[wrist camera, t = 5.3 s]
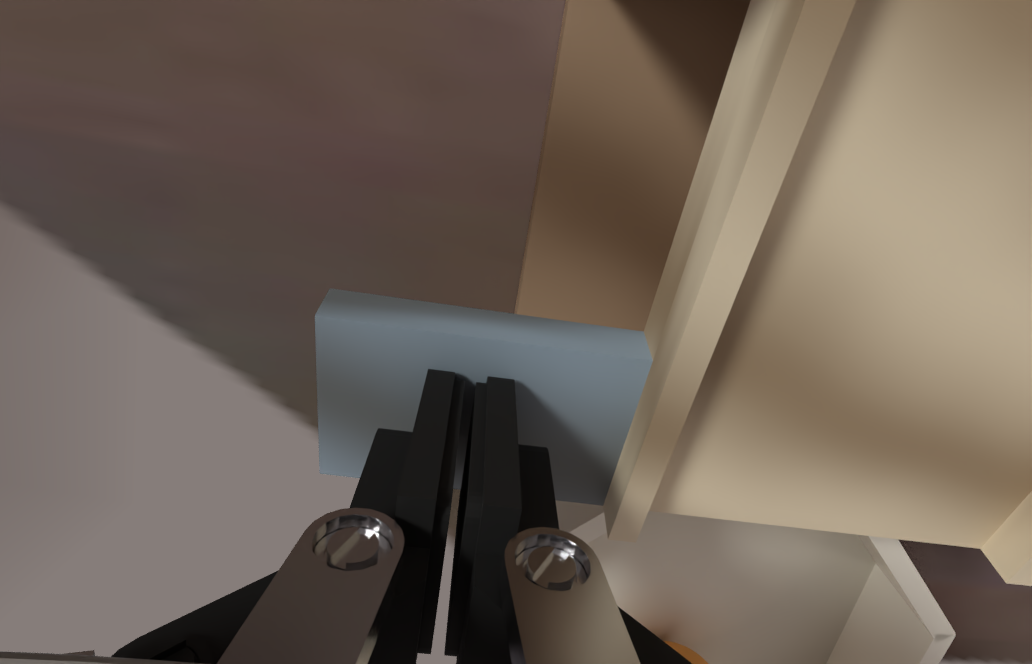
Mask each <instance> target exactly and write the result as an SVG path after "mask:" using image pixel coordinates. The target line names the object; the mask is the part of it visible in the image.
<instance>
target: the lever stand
mask: <svg viewBox="0 0 1032 664" xmlns="http://www.w3.org/2000/svg"><path fill="white" fill-rule="evenodd" d="M750 1H751V0H566V2H565V8H564V14H563V20H562V26H561V32H560V38H559V45H558V51H557V57H556V63H555V69H554V75H553V81H552V87H551V93H550V99H549V105H548V112H547V118H546V124H545V130H544V136H543V142H542V148H541V154H540V160H539V166H538V172H537V179H536V185H535V191H534V197H533V203H532V209H531V215H530V221H529V227H528V233H527V239H526V246H525V252H524V258H523V264H522V270H521V276H520V282H519V288H518V294H517V300H516V306H515V313H514V314H519V315H527V316H534V317H541V318H548V319H556V320H563V321H570V322H578V323H585V324H592V325H599V326H607V327H614V328H621V329H628V330H636V331H643V332H644V329H645V326H646V323H647V320H648V317H649V314H650V311H651V308H652V304H653V301H654V298H655V295H656V292H657V289H658V286H659V283H660V280H661V277H662V273H663V270H664V267H665V264H666V261H667V258H668V255H669V252H670V249H671V246H672V242H673V239H674V236H675V233H676V230H677V227H678V224H679V221H680V218H681V215H682V212H683V208H684V205H685V202H686V199H687V196H688V193H689V190H690V187H691V184H692V181H693V177H694V174H695V171H696V168H697V165H698V162H699V159H700V156H701V153H702V150H703V146H704V143H705V140H706V137H707V134H708V131H709V128H710V125H711V122H712V119H713V115H714V112H715V109H716V106H717V103H718V100H719V97H720V94H721V91H722V88H723V85H724V81H725V78H726V75H727V72H728V69H729V66H730V63H731V60H732V57H733V54H734V50H735V47H736V44H737V41H738V38H739V35H740V32H741V29H742V26H743V23H744V19H745V16H746V13H747V10H748V7H749V4H750Z"/></svg>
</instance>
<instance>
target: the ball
mask: <svg viewBox="0 0 1032 664" xmlns="http://www.w3.org/2000/svg"><path fill="white" fill-rule="evenodd" d="M664 642H665V643H666V644H668V645H669V646H670V647H672V648H673V649H674V650H675V651H677V652H678V653H679V654H681V655H682V656H683V657H685V658H686V659H687V660H688V661H690V662H691V663H692V664H708V663H707V662H706V661H705V660H704V659H703V658H702V657H701V656H700V655H699V654H697V653H696V652H694V651H693V650H691V649H690V648H688V647H686V646H683V645H681V644H678V643H675V642H670V641H664Z"/></svg>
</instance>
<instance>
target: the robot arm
mask: <svg viewBox="0 0 1032 664" xmlns="http://www.w3.org/2000/svg"><path fill="white" fill-rule="evenodd" d="M464 386H465V381H464V380H456V379H455V372H450V371H442V370H434V369H428V371H427V375H426V379H425V383H424V387H423V392H422V396H421V400H420V404H419V408H418V412H417V416H416V420H415V424H414V428H413V432H409V431H401V430H392V429H383V428H378V429H377V432H376V434H375V437H374V440H373V443H372V445H371V448H370V451H369V454H368V457H367V460H366V463H365V465H364V468H363V471H362V474H361V477H360V480H359V483H358V486H357V488H356V491H355V494H354V497H353V500H352V503H351V505H350V508H348V509H340V510H337V511H334V512H331V513H327V514H325V515H324V516H322V517H320V518H319V519H317V520H315V521H314V522H313V523H312V524H311V525H310V526H309V527H308V528H307V529H306V530H305V532H304V533H303V535H302V536H301V538H300V539H299V541H298V542H297V544H296V545H295V547H294V548H293V550H292V551H291V553H290V554H289V556H288V557H287V559H286V560H285V562H284V564H283V565H282V566H281V568H280V569H279V571H276V572H274V573H272V574H270V575H268V576H266V577H264V578H262V579H260V580H258V581H256V582H254V583H251V584H249V585H247V586H245V587H243V588H241V589H239V590H237V591H235V592H233V593H231V594H228V595H226V596H225V597H222V598H220V599H218V600H216V601H214V602H212V603H210V604H208V605H206V606H204V607H201V608H199V609H197V610H195V611H193V612H191V613H189V614H187V615H185V616H182V617H181V618H178V619H176V620H174V621H172V622H170V623H168V624H166V625H164V626H162V627H160V628H158V629H155V630H153V631H151V632H149V633H147V634H145V635H143V636H141V637H139V638H137V639H135V640H134V641H132V642H130V643H129V644H127V645H125V646H124V647H122V648H121V649H119V650H118V651H117V652H116V653H115V654H114V655H112V656H111V657H103V656H95V652H94V650H93V651H84V652H75V653H67V654H52V653H51V654H50V653H27V652H0V664H416V659H417V653H424V654H431V648H432V640H433V634H434V626H435V619H436V612H437V605H438V597H439V590H440V582H441V576H442V568H443V561H444V554H445V546H446V539H447V532H448V525H449V517H450V510H451V502H452V494H453V485H454V476H455V467H456V458H457V449H458V440H459V431H460V422H461V413H462V404H463V395H464ZM445 655H448V656H457V663H456V664H692V663H691V662H690V661H688V660H687V659H686V658H685V657H683V656H682V655H681V654H679V653H678V652H677V651H675V650H674V649H673V648H672V647H670V646H669V645H668V644H666V643H665V642H664V641H662V640H661V639H660V638H659V637H657V636H656V635H655V634H653V633H652V632H651V631H650V630H648V629H647V628H646V627H644V626H643V625H642V624H640V623H639V622H638V621H637V620H635V619H634V618H633V617H631V616H630V615H629V614H627V613H626V612H625V611H624V610H622V609H621V608H620V607H618V606H617V604H616V601H615V599H614V596H613V594H612V591H611V589H610V586H609V584H608V581H607V579H606V576H605V574H604V571H603V569H602V566H601V564H600V561H599V559H598V558H597V556H596V554H595V553H594V551H593V549H592V548H590V547H589V546H588V545H587V544H586V543H585V542H584V541H583V540H581V539H580V538H578V537H576V536H575V535H573V534H571V533H569V532H565V531H562V530H559V523H558V515H557V508H556V501H555V494H554V486H553V479H552V472H551V464H550V457H549V451H548V448H547V447H539V446H531V445H522V444H518V429H517V411H516V393H515V380H514V379H506V378H498V377H490V376H488V377H487V382H486V383H481V382H476V386H475V392H474V399H473V406H472V413H471V420H470V427H469V434H468V441H467V448H466V455H465V462H464V469H463V476H462V483H461V490H460V498H459V506H458V516H457V526H456V537H455V547H454V558H453V569H452V579H451V590H450V601H449V611H448V622H447V633H446V643H445Z"/></svg>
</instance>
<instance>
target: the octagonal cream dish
mask: <svg viewBox="0 0 1032 664" xmlns="http://www.w3.org/2000/svg"><path fill="white" fill-rule="evenodd" d="M555 501H556V508H557V515H558V523H559V530H562V531H565V532H569V533H571V534H573V535H575V536H576V537H578V538H580V539H581V540H583V541H584V542H585V543H586V544H587V545H588V546H589V547H590V548H592V549H593V551H594V553H595V554H596V556H597V558H598V559H599V561H600V564H601V566H602V569H603V571H604V574H605V576H606V579H607V581H608V584H609V586H610V589H611V591H612V594H613V596H614V599H615V601H616V604H617V606H618V607H620V608H621V609H622V610H624V611H625V612H626V613H627V614H629V615H630V616H631V617H633V618H634V619H635V620H637V621H638V622H639V623H640V624H642V625H643V626H644V627H646V628H647V629H648V630H650V631H651V632H652V633H653V634H655V635H656V636H657V637H659V638H660V639H661V640H662V641H670V642H675V643H678V644H681V645H683V646H686V647H688V648H690V649H691V650H693V651H694V652H696V653H697V654H699V655H700V656H701V657H702V658H703V659H704V660H705V661H706V662H707V663H708V664H939V663H940V661H941V660H942V658H943V656H944V655H945V653H946V651H947V650H948V648H949V646H950V645H951V643H952V641H953V640H954V638H955V636H956V635H955V634H956V633H955V631H954V630H953V628H952V627H951V625H950V623H949V622H948V620H947V618H946V617H945V615H944V614H943V612H942V610H941V609H940V607H939V605H938V604H937V602H936V600H935V599H934V597H933V596H932V594H931V592H930V591H929V589H928V587H927V586H926V584H925V583H924V581H923V579H922V578H921V576H920V574H919V573H918V571H917V570H916V568H915V566H914V565H913V563H912V561H911V560H910V558H909V557H908V555H907V553H906V552H905V550H904V548H903V547H902V545H901V543H900V542H899V540H898V539H891V538H882V537H873V536H864V535H856V534H847V533H838V532H829V531H820V530H812V529H803V528H794V527H785V526H777V525H768V524H759V523H750V522H741V521H733V520H724V519H715V518H706V517H698V516H689V515H680V514H671V513H662V512H654V511H649V512H648V514H647V516H646V519H645V521H644V524H643V526H642V529H641V531H640V534H639V536H638V539H637V541H636V543H635V542H626V541H617V540H608V536H607V529H606V522H605V516H604V509H603V506H601V505H592V504H583V503H575V502H566V501H557V500H555Z"/></svg>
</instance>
